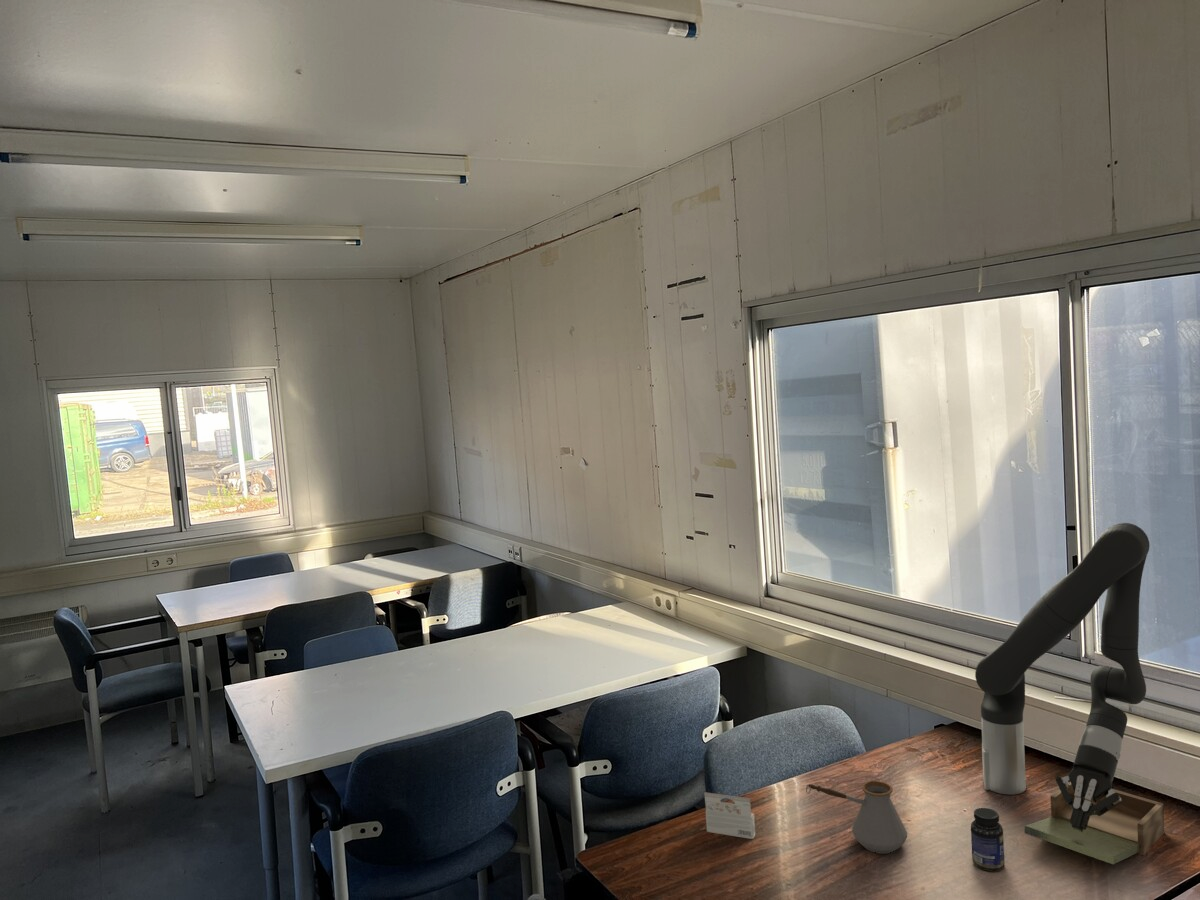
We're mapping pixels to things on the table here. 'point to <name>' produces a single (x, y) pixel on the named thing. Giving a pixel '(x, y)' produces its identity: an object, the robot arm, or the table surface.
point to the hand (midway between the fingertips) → (1076, 829)
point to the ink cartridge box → (729, 816)
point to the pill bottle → (987, 840)
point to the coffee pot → (875, 817)
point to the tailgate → (1083, 840)
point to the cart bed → (1121, 818)
